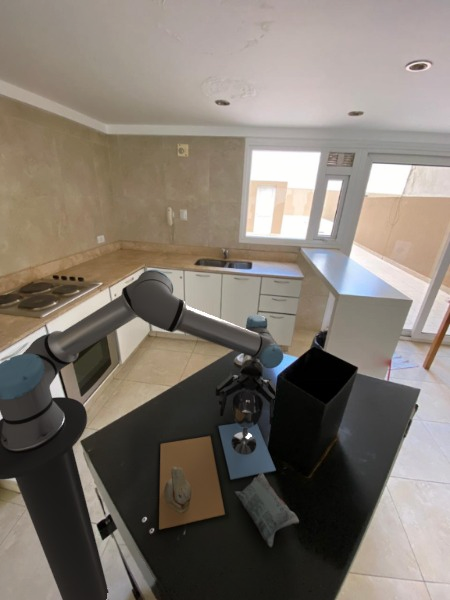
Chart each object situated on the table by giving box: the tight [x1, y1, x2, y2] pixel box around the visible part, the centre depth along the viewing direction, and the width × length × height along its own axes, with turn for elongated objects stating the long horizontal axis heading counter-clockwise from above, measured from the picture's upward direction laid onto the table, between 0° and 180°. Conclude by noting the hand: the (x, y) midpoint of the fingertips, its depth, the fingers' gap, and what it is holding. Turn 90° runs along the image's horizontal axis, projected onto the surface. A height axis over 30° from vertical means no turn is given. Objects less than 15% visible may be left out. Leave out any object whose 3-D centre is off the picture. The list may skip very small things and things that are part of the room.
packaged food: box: [234, 471, 300, 548], centre depth 55 cm, size 9×12×5 cm
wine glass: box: [231, 390, 264, 455], centre depth 69 cm, size 8×8×15 cm
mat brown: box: [158, 435, 226, 530], centre depth 63 cm, size 20×14×1 cm
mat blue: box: [217, 422, 277, 480], centre depth 71 cm, size 16×12×1 cm
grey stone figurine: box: [165, 467, 191, 513], centre depth 56 cm, size 6×8×10 cm
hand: (246, 416), depth 69 cm, fingers open, 13 cm apart
